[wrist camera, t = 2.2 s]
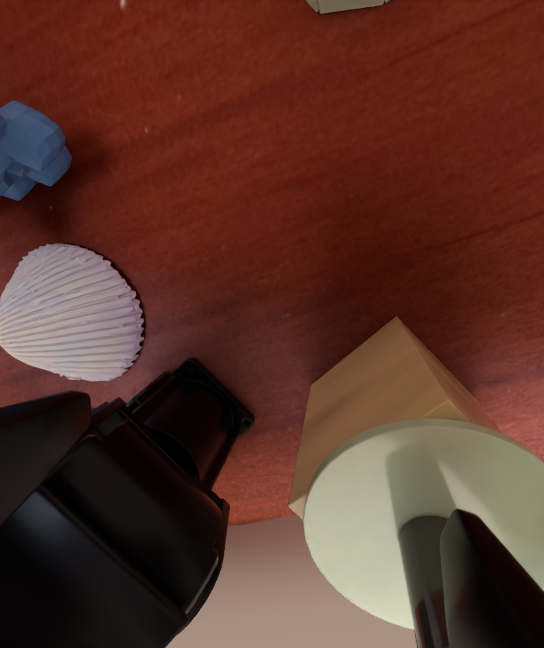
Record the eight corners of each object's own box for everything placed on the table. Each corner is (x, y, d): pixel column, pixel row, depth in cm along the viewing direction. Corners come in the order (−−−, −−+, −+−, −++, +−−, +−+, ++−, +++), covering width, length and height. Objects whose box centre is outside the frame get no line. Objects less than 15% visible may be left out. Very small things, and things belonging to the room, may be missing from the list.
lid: (640, 560, 10) (826, 766, 6) (410, 648, 13) (439, 826, 9) (454, 364, 10) (530, 456, 6) (257, 501, 12) (220, 624, 9)
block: (475, 398, 20) (597, 554, 10) (382, 457, 22) (413, 628, 13) (396, 315, 19) (448, 399, 10) (310, 385, 22) (287, 506, 12)
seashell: (-57, 272, 21) (23, 224, 17) (31, 261, 26) (112, 221, 21) (12, 412, 23) (100, 405, 18) (82, 378, 28) (166, 365, 23)
